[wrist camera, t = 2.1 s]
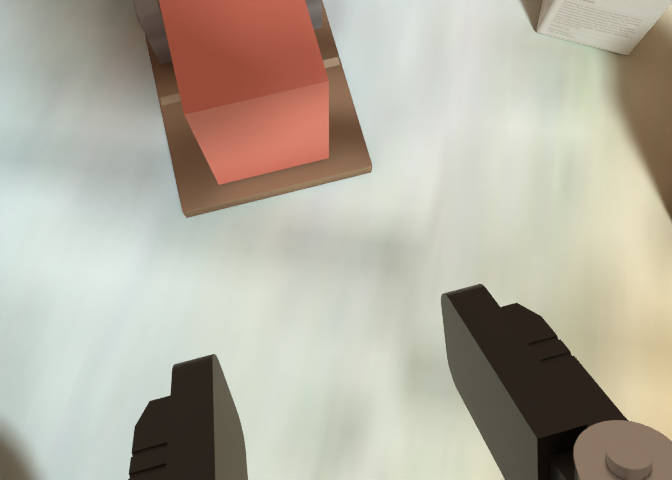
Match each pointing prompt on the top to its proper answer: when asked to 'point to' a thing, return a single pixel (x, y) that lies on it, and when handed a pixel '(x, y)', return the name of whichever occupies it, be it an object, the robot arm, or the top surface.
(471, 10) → the top surface
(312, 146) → the red block
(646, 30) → the product box
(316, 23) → the brown piece
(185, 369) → the robot arm
